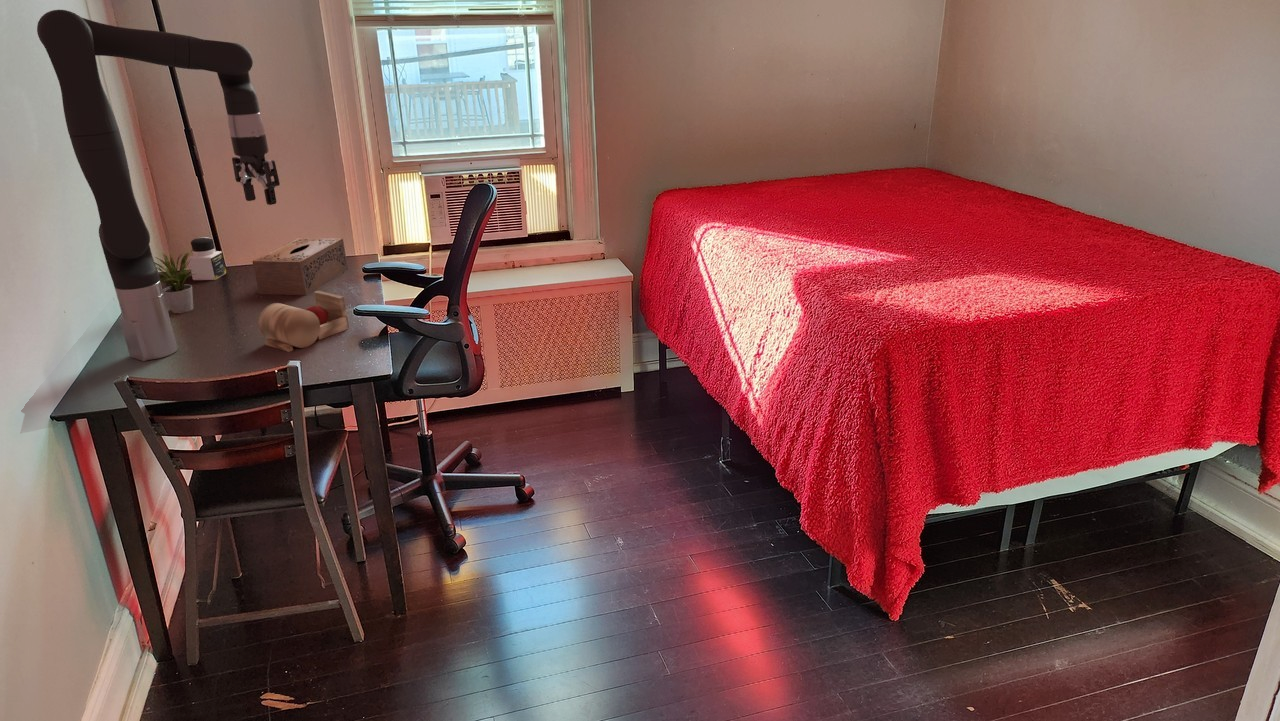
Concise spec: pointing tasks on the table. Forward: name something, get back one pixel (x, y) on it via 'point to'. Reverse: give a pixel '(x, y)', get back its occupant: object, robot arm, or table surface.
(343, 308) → the pit walls
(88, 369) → the table surface
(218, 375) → the table surface
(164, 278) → the house plant
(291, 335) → the roller
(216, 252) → the medicine bottle
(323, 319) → the onion
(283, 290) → the tissue box cover
